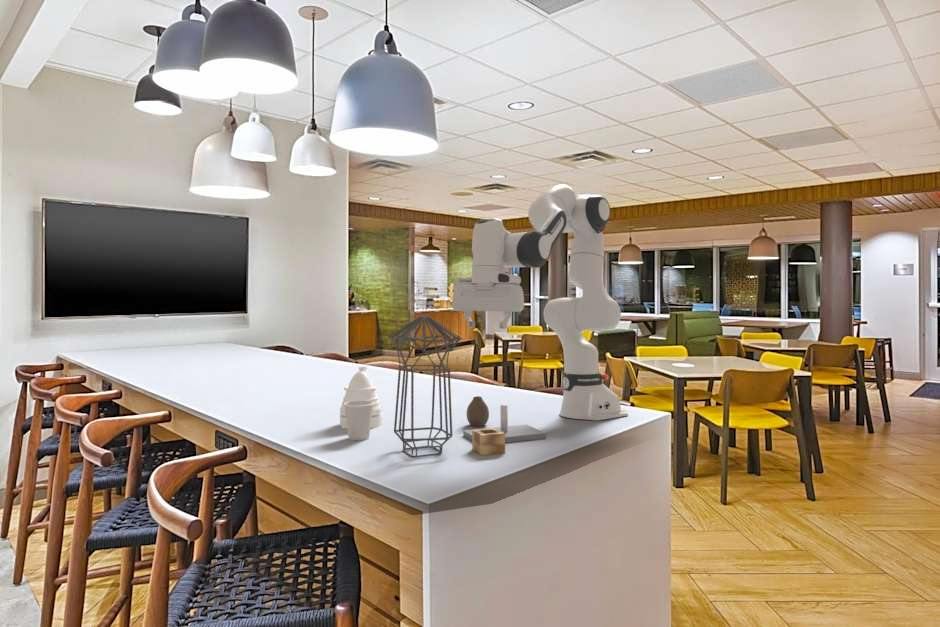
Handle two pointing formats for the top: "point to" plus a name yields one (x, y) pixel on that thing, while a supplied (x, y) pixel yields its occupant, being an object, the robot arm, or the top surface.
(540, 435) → the board
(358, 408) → the dixie cup
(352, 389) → the honey pot
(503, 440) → the brown hollow square block
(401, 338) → the geometric lantern
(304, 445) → the top surface
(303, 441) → the top surface
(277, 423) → the top surface
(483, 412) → the vase
